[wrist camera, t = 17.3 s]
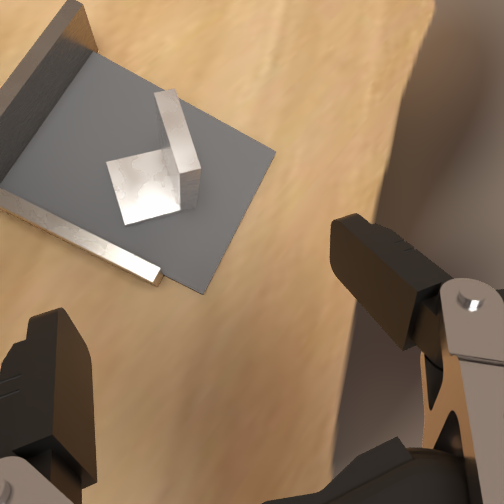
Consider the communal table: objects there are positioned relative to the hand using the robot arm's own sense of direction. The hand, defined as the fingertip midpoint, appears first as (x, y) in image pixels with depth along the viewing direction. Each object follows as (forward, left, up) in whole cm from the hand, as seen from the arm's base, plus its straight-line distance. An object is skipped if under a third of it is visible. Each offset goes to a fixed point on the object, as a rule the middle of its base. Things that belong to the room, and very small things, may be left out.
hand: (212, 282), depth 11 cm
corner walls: (-12, +9, -24) cm, 28 cm away
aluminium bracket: (-8, +8, -23) cm, 26 cm away
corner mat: (-9, +9, -24) cm, 27 cm away
